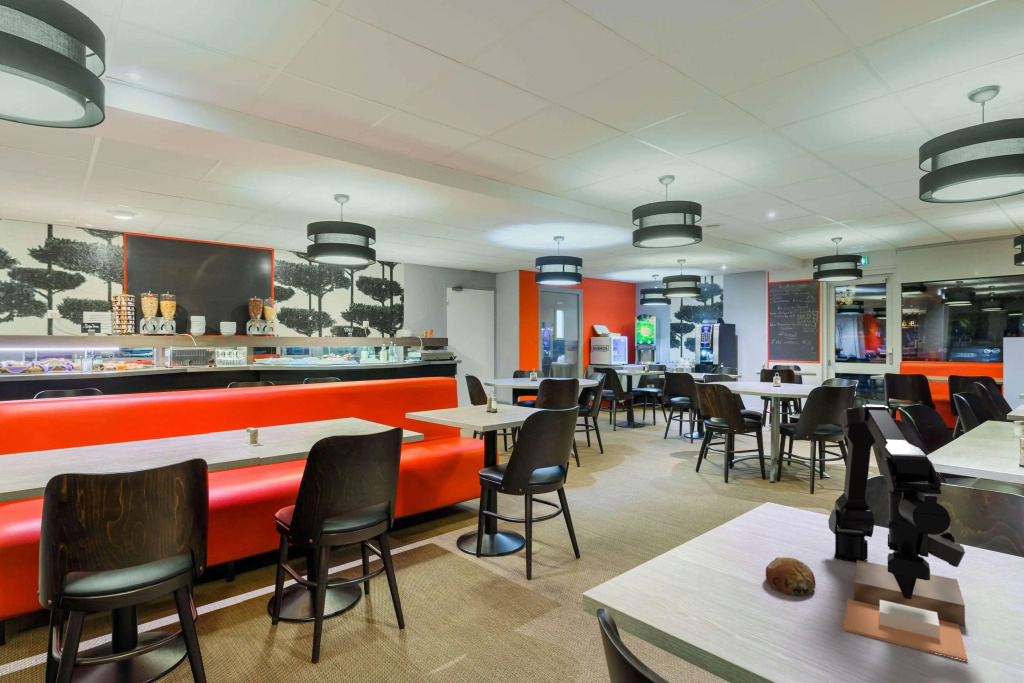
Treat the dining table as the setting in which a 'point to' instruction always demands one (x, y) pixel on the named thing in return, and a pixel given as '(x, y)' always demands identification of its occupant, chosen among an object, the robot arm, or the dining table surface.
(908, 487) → the robot arm
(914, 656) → the dining table surface
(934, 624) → the white rectangular block
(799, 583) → the bread roll
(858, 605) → the mat
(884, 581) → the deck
